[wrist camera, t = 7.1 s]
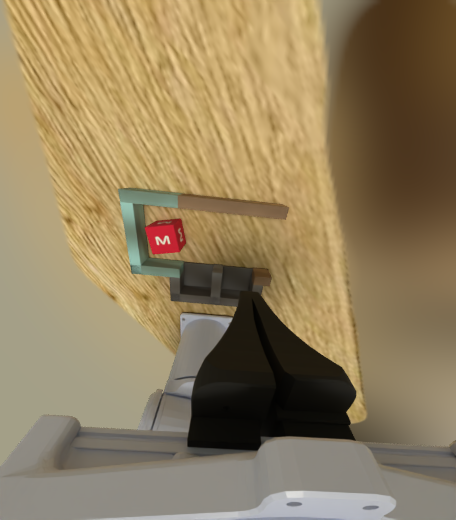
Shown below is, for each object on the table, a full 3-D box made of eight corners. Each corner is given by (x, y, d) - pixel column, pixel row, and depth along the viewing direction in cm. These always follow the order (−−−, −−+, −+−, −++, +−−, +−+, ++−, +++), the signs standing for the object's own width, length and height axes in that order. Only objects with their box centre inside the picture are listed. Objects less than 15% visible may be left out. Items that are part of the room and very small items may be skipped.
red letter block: (181, 218, 20) (173, 224, 17) (186, 242, 21) (179, 252, 18) (156, 220, 20) (144, 227, 17) (162, 244, 21) (152, 254, 19)
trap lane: (261, 298, 25) (263, 309, 23) (143, 287, 24) (135, 297, 22) (282, 204, 19) (288, 207, 17) (130, 187, 18) (118, 188, 16)
